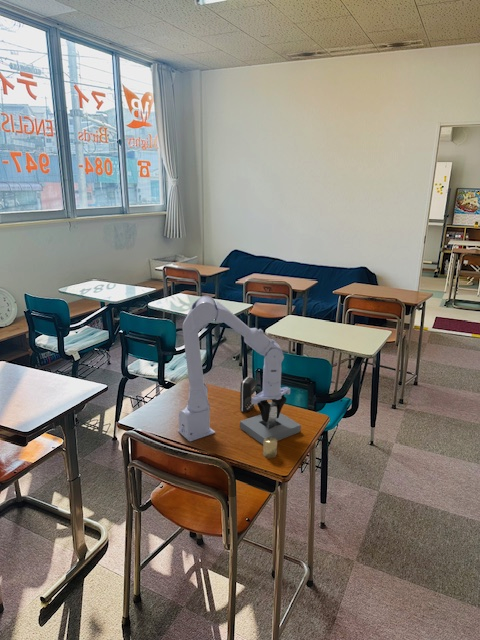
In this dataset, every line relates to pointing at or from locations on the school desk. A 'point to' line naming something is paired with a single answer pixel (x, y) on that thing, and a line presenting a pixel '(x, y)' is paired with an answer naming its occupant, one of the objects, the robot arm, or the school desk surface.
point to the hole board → (260, 432)
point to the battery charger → (247, 394)
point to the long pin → (272, 416)
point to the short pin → (270, 447)
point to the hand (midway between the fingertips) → (270, 418)
